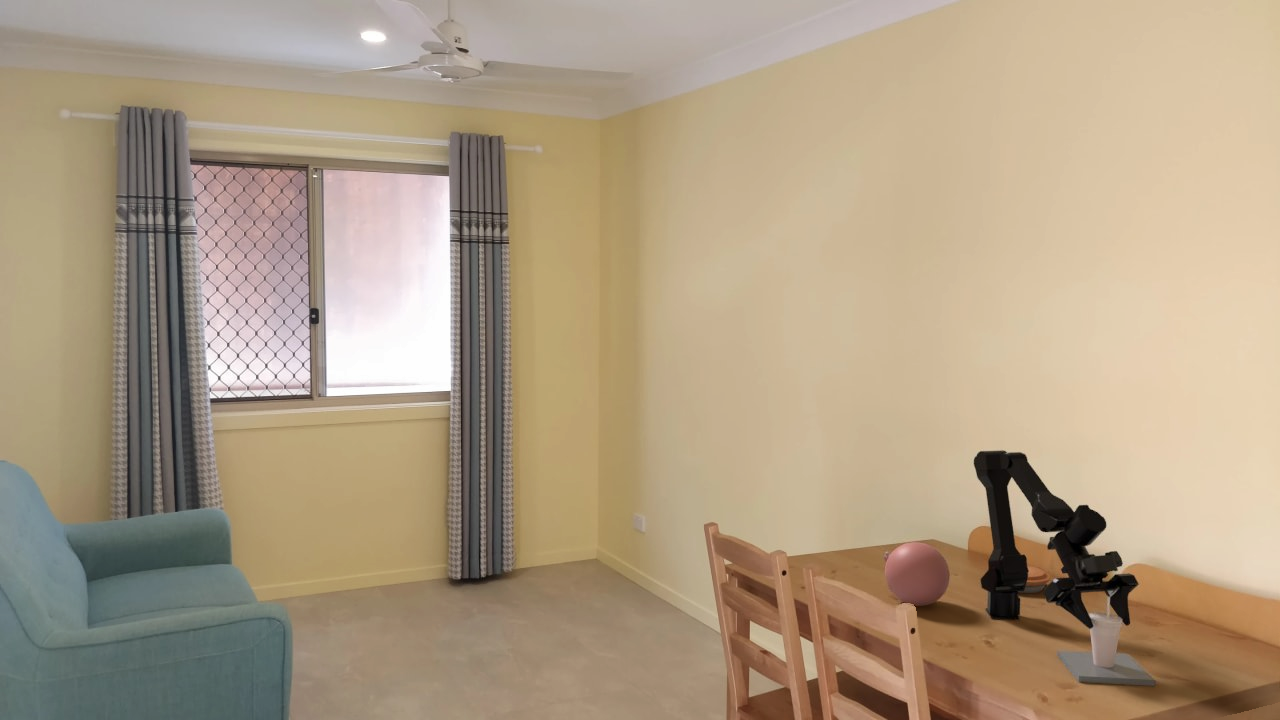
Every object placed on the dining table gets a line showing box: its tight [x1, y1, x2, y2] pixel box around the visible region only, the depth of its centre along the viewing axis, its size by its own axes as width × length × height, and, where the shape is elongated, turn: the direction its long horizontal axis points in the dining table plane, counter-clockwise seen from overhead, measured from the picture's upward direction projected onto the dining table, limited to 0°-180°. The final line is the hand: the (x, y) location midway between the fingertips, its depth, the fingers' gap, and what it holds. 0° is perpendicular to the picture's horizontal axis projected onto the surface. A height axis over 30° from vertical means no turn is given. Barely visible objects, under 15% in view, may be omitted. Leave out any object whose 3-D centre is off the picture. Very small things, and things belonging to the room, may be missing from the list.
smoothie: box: [1088, 595, 1123, 668], centre depth 189 cm, size 6×6×14 cm
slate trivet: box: [1056, 649, 1156, 687], centre depth 190 cm, size 14×14×1 cm
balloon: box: [883, 541, 951, 607], centre depth 234 cm, size 15×20×15 cm
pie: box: [987, 565, 1051, 594], centre depth 247 cm, size 16×16×5 cm
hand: (1110, 626), depth 188 cm, fingers open, 8 cm apart
